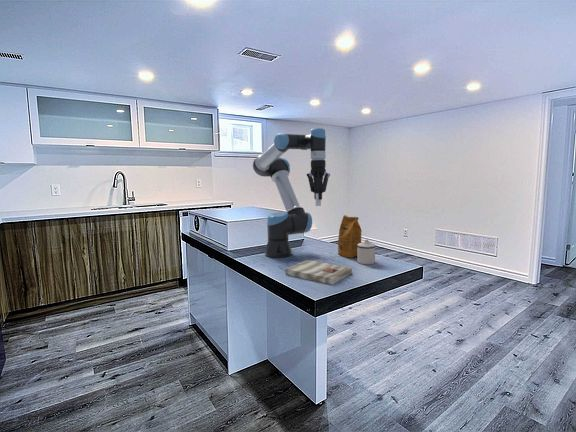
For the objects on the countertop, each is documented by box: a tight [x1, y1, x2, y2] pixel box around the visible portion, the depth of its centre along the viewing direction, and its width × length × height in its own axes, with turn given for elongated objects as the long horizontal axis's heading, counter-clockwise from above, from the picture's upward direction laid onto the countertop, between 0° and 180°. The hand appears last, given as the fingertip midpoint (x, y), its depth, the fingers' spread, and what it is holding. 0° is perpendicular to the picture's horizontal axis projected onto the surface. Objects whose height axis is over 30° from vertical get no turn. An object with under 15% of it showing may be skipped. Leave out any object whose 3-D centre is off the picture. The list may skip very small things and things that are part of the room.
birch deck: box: [285, 259, 353, 285], centre depth 144 cm, size 24×18×2 cm
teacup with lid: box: [356, 239, 377, 265], centre depth 162 cm, size 12×9×12 cm
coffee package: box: [337, 214, 362, 259], centre depth 174 cm, size 10×12×22 cm
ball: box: [324, 267, 333, 273], centre depth 140 cm, size 4×4×4 cm
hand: (318, 205), depth 165 cm, fingers closed
